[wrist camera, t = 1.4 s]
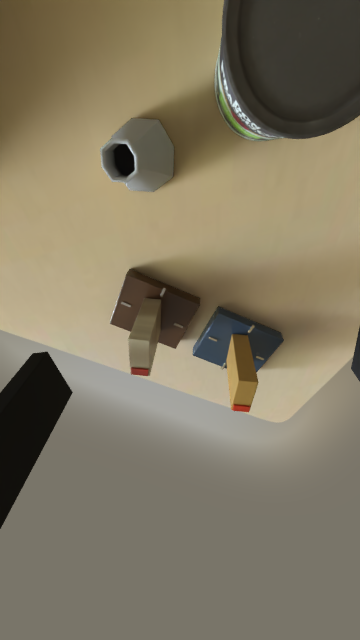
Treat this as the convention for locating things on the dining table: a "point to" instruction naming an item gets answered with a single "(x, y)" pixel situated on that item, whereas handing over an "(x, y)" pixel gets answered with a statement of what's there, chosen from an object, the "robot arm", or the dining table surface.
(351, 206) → the dining table surface
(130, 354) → the beige flat block
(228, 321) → the blue base
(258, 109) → the coffee can
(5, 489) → the robot arm
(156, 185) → the flask
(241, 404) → the red-tipped wooden block
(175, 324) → the walnut base
